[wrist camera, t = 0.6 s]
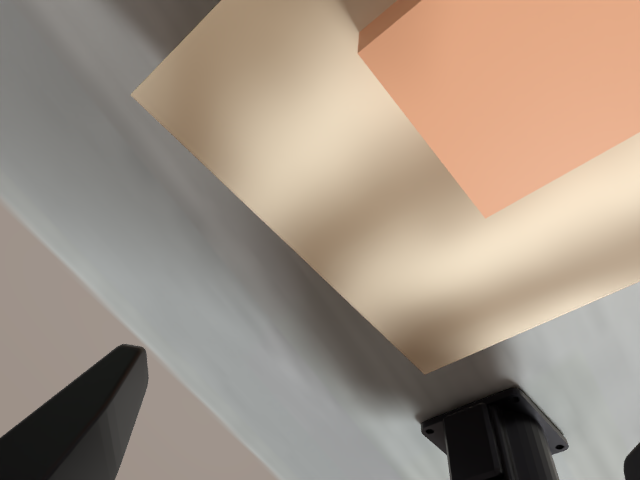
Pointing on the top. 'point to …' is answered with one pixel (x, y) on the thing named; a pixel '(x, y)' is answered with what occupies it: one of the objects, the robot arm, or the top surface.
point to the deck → (385, 183)
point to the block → (510, 85)
